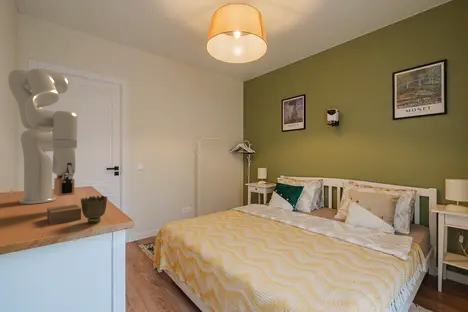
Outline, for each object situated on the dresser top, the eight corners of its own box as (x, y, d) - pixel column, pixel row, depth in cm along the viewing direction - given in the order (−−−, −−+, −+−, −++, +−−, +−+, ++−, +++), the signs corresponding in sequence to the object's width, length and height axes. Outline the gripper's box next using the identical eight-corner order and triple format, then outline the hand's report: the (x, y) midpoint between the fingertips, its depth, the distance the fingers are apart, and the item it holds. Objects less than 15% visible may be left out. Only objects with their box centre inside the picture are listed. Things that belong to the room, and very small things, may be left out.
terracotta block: (54, 194, 89) (54, 178, 89) (69, 192, 93) (69, 177, 93) (58, 196, 86) (58, 180, 86) (74, 194, 90) (74, 178, 90)
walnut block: (47, 219, 79) (47, 207, 79) (75, 215, 85) (75, 204, 85) (51, 225, 73) (51, 212, 73) (81, 220, 79) (81, 208, 79)
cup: (79, 221, 77) (79, 196, 77) (105, 217, 81) (105, 194, 81) (81, 227, 71) (81, 201, 71) (109, 223, 76) (109, 198, 75)
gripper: (45, 143, 91) (45, 189, 92) (60, 145, 81) (60, 197, 82) (68, 143, 97) (67, 187, 98) (85, 145, 87) (84, 194, 88)
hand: (64, 191), depth 90 cm, fingers closed on terracotta block, 5 cm apart
